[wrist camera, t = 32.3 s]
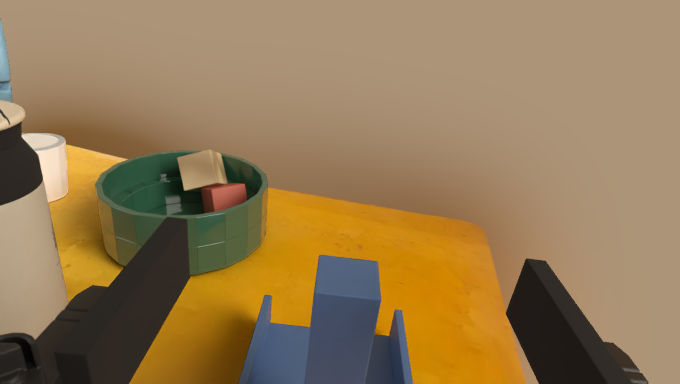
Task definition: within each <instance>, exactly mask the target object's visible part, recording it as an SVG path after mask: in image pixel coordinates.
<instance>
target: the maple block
mask: <svg viewBox="0 0 680 384" xmlns="http://www.w3.org/2000/svg"><path fill="white" fill-rule="evenodd" d="M177 160H178V164H179V169H180V173H181V178H182V182H183V187H184V191H193V192H199V191H201V188H205V187H211V186H217V185H224V184H228V183H227V178H226V174H225V170H224V165H223V161H222V156H221V154H220V153H217V152H214V151H212V150H206V151H201V152H197V153H193V154H189V155H185V156H181V157H177Z"/></svg>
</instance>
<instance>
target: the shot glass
mask: <svg viewBox="0 0 680 384" xmlns="http://www.w3.org/2000/svg"><path fill="white" fill-rule="evenodd" d="M22 138H23V139H24V140H25V141H26V142H27V143H28V144H29V145H30V146H31V148H32V149H33V150H34V151H35V152H36V153H37V154H38V156H39V161H40V166H41V170H42V175H43V180H44V185H45V190H46V195H47V200H48V202H52V201H56V200H58V199H60V198H63V197H64V196H65V195H67V194H68V174H67V158H66V142H65V139H64V138H63V137H62V136H59V135H55V134H49V133H27V134H22Z"/></svg>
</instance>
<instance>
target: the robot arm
mask: <svg viewBox="0 0 680 384" xmlns="http://www.w3.org/2000/svg"><path fill="white" fill-rule="evenodd" d="M0 100H3V101H8V102H11V103H12V89H11V84H10V68H9V61H8V54H7V48H6V42H5V37H4V32H3V28H2V24H1V20H0ZM189 278H190V267H189V246H188V225H187V219H183V218H175V217H166V219H165V220H164V221H163V222H162V223H161V224H160V226H159V227H158V228H157V229H156V230H155V232H154V233H153V234H152V235H151V236H150V238H149V239H148V240H147V241H146V242H145V244H144V245H143V246H142V247H141V248H140V250H139V251H138V252H137V253H136V254H135V256H134V257H133V258H132V259H131V260H130V262H129V263H128V264H127V265H126V266H125V268H124V269H123V270H122V271H121V272H120V274H119V275H118V276H117V277H116V278H115V280H114V281H113V282H112V283H111V284H110V285H109V287H103V286H94V285H92V286H91V287H89V288H87V289H86V290H84V291H82V292H81V293H79V294H77V295H76V296H75V297H74V298H73V299H72V300H71V301H70V302H69V304H68V305H67V306H66V307H65V309H64V310H62V311H61V312H60V313H59V314H58V315H57V317H56V319H55V320H53V321H52V322H51V323H50V324H49V325H48V326H47V327H46V329H45V330H44V331H43V332H42V333H41V334H40V335H39V336H38V337H37V338H36V339H35V340H34V338H33V336H31V335H28V334H26V333H8V334H3V335H0V384H129V382H130V381H131V379H132V377H133V375H134V374H135V372H136V370H137V368H138V367H139V365H140V363H141V361H142V360H143V358H144V356H145V355H146V353H147V351H148V349H149V348H150V346H151V344H152V342H153V341H154V339H155V337H156V335H157V334H158V332H159V330H160V329H161V327H162V325H163V323H164V322H165V320H166V318H167V316H168V315H169V313H170V311H171V309H172V308H173V306H174V304H175V303H176V301H177V299H178V297H179V296H180V294H181V292H182V290H183V289H184V287H185V285H186V283H187V282H188V280H189ZM506 315H507V317H508V319H509V321H510V324H511V326H512V328H513V330H514V332H515V334H516V336H517V338H518V340H519V342H520V345H521V347H522V349H523V351H524V353H525V355H526V357H527V360H528V362H529V363H530V366H531V368H532V370H533V372H534V374H535V376H536V379H537V381H538V383H539V384H648V381H647V380H646V378H645V377H644V376H643V374H642V373H640V372H639V369H638V368H637V366H636V365H635V364H634V363H633V361H632V360H631V359H630V357H629V356H628V355H627V354H626V353H624V352H623V351H622V350H621V349H620V348H618V347H617V346H616V345H615V344H614V343H609V342H603V341H602V339H601V338H600V337H599V335H598V334H597V332H596V331H595V330H594V328H593V327H592V325H591V324H590V322H589V321H588V320H587V318H586V317H585V315H584V314H583V313H582V311H581V310H580V308H579V307H578V306H577V304H576V303H575V301H574V300H573V299H572V298H571V296H570V295H569V293H568V292H567V290H566V289H565V287H564V286H563V285H562V283H561V282H560V280H558V278H557V276H556V275H555V273H554V272H553V271H552V269H551V268H550V267H549V265H548V264H547V262H546V261H542V260H533V259H526V260H525V263H524V266H523V268H522V271H521V274H520V276H519V279H518V282H517V284H516V287H515V290H514V293H513V295H512V298H511V300H510V303H509V306H508V308H507V311H506Z"/></svg>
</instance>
